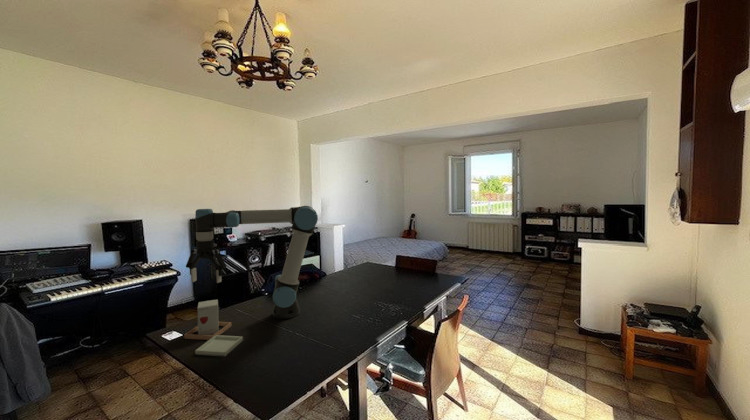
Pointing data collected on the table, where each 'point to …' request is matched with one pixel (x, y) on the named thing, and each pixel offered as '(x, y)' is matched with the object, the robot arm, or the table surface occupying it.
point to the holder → (207, 337)
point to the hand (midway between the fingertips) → (206, 281)
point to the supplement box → (208, 317)
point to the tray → (219, 345)
